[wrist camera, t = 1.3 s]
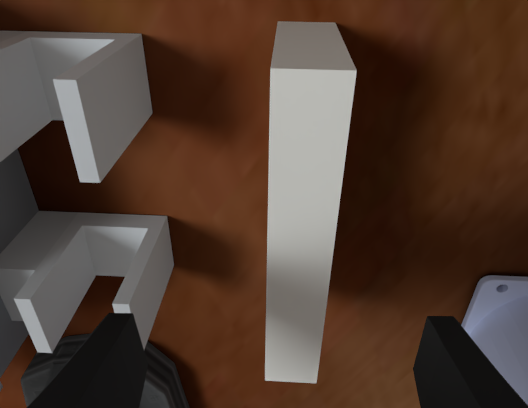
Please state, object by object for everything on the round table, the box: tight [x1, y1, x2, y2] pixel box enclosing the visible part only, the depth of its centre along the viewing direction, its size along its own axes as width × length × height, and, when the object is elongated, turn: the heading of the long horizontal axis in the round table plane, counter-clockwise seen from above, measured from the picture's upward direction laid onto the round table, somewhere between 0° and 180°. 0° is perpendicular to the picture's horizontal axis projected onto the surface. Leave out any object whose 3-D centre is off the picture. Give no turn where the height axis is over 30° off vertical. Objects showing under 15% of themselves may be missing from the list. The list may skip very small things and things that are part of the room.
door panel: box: [265, 22, 357, 383], centre depth 16 cm, size 12×2×6 cm, turn 0°
